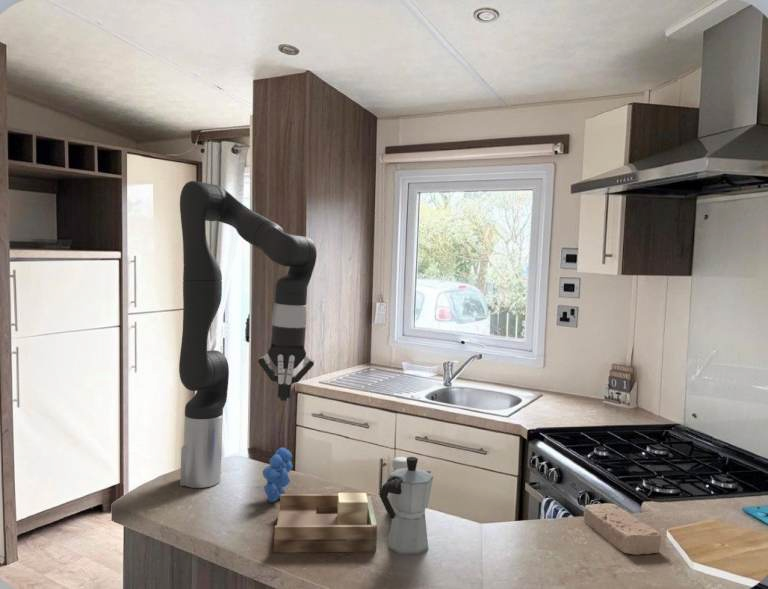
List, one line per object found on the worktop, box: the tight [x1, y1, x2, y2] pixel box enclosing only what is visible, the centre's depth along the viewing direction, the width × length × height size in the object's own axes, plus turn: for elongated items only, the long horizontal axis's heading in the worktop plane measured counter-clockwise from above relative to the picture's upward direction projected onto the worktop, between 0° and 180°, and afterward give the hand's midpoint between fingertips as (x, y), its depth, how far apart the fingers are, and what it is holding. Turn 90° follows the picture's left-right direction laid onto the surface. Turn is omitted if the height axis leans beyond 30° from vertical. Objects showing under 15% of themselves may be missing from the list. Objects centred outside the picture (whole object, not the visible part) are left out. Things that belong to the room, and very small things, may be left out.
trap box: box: [273, 493, 378, 553], centre depth 117 cm, size 20×16×5 cm
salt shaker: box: [387, 456, 408, 510], centre depth 128 cm, size 6×6×13 cm
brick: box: [583, 502, 662, 556], centre depth 122 cm, size 17×8×5 cm, turn 12°
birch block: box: [337, 492, 368, 525], centre depth 118 cm, size 6×5×5 cm
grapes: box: [262, 446, 294, 503], centre depth 134 cm, size 12×7×12 cm, turn 165°
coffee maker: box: [378, 456, 434, 556], centre depth 113 cm, size 15×9×18 cm, turn 135°
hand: (283, 399), depth 126 cm, fingers closed
